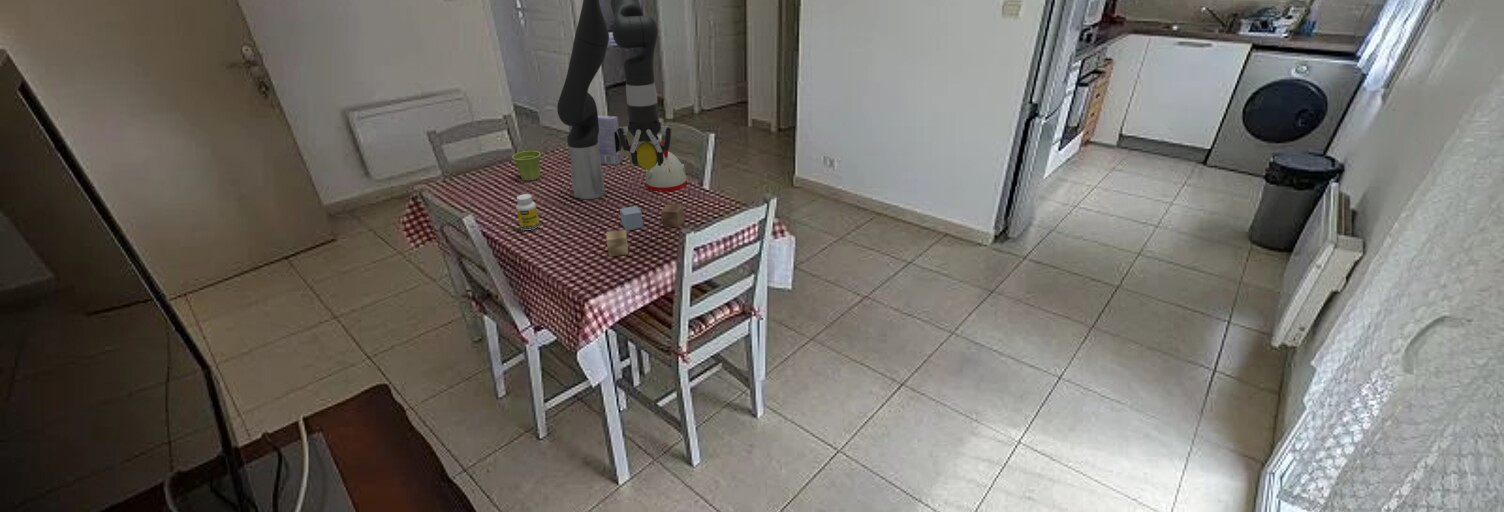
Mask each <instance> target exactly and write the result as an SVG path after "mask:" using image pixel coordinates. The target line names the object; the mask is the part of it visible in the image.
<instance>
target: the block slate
mask: <svg viewBox="0 0 1504 512" xmlns="http://www.w3.org/2000/svg"><path fill="white" fill-rule="evenodd" d="M619 212H620V218H621V219H620V220H621V225H622V227H623V228H624V230H626V232H627V231H632V230H637V229H643V228H644V224H643V215H642V213H643V212H642V210H641V209H640V208H639V207H638V205H634V206H629V207H624V208H620V209H619Z"/></svg>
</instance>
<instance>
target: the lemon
mask: <svg viewBox="0 0 1504 512" xmlns="http://www.w3.org/2000/svg"><path fill="white" fill-rule="evenodd" d="M636 151H637V160H638V163H639V164H638V166H640V167H641V168H643V169H645V170H646V169H647V170H648V171H649V170H651V168H653V167H655V165H656V164H657V162H658V160H657V152H658V151H657V149H656V147H655V146H654V145H653V143H652V142H650V141H643V142H642V143H641V144H639V146H637V148H636Z"/></svg>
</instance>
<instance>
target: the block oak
mask: <svg viewBox="0 0 1504 512" xmlns="http://www.w3.org/2000/svg"><path fill="white" fill-rule="evenodd" d="M627 235H628V234H627V231H626V230H625V229H623V230H612V231H611V230H610V231H606V245H607V246H606V247H607V250H608V251H607V253H608V257H616V256H617V257H618V256H626V255H629V243H628V236H627Z"/></svg>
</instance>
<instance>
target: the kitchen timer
mask: <svg viewBox="0 0 1504 512" xmlns="http://www.w3.org/2000/svg"><path fill="white" fill-rule="evenodd" d="M660 142H661V144H662V145H664V144H665V140H664V141H663V140H662V141H660ZM663 156H664V161H663V164H661V166H658V162H657V164H656V165H655V167H653V168H651V170H649V171H648V170H647V169H645V187H646V189H647V190H649V191H652V192H656V191H657V192H658V193H671V192H677V191H678V190H682V189H684V188H685V187H686V186H687V184H688V181H687V180H688V179H687V174H686V168H685V165H684V163H681V161H680V160H679V158H678V157H677V156H675V154H674V153H672V152H671V151H669V149H668V150H665V151H663ZM685 185H686V186H685ZM683 187H684V188H683ZM670 191H671V192H670Z"/></svg>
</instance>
